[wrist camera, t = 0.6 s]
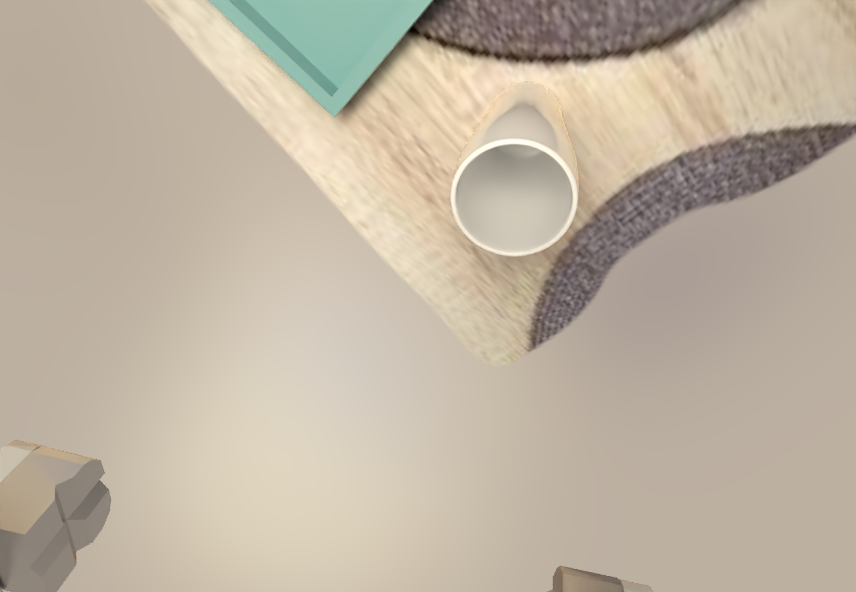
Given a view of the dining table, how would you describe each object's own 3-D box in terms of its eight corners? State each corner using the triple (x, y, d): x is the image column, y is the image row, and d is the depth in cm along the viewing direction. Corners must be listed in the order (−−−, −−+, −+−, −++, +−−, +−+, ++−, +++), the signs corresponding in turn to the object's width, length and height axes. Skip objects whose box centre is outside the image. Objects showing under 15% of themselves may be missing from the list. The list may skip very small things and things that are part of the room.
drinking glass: (590, 131, 44) (604, 221, 31) (509, 178, 47) (493, 278, 34) (541, 48, 41) (536, 110, 29) (460, 103, 44) (422, 182, 32)
